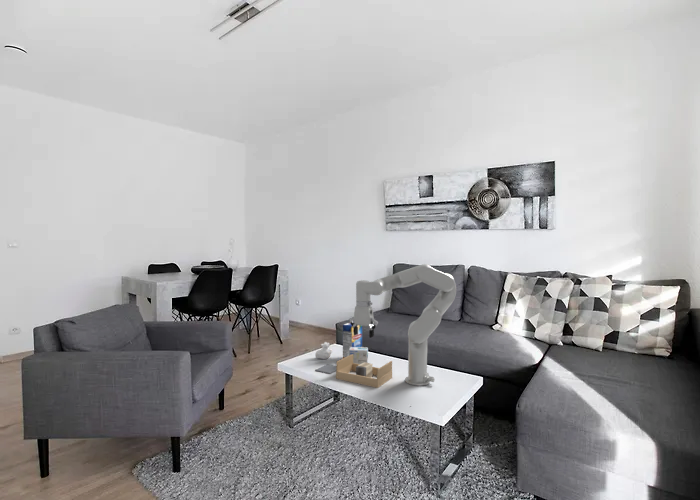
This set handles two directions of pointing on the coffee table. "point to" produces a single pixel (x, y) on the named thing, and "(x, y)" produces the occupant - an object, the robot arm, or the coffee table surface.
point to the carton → (347, 366)
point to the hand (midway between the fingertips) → (363, 335)
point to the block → (364, 369)
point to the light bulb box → (359, 354)
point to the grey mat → (327, 369)
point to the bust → (324, 351)
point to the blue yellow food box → (351, 338)
